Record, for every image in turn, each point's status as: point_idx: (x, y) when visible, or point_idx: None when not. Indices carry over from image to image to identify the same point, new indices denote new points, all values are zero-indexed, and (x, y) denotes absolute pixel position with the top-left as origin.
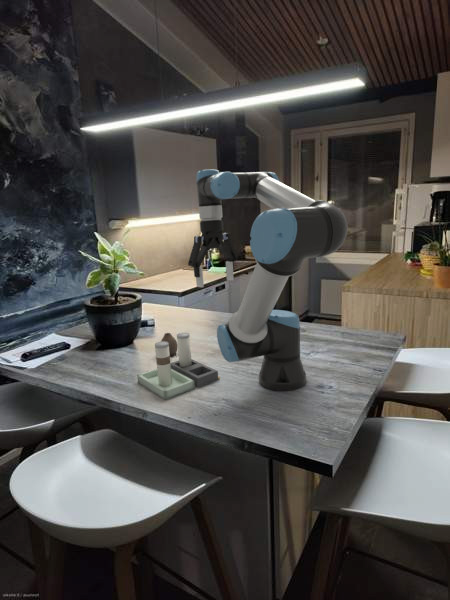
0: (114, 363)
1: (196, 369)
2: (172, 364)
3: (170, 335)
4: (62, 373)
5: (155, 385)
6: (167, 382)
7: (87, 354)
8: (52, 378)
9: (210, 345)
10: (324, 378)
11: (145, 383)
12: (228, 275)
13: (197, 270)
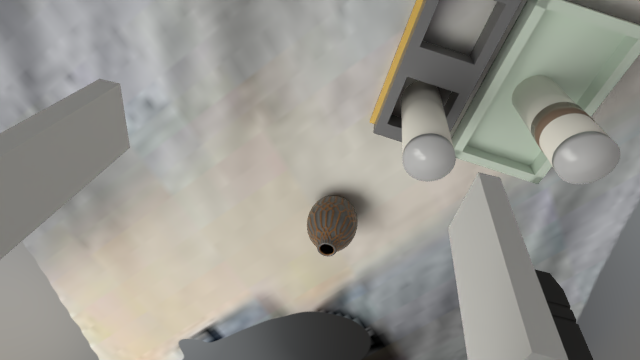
0: (440, 280)
1: (442, 52)
2: None
3: (326, 238)
4: None
5: (606, 91)
6: (553, 81)
7: (416, 345)
8: None
9: (221, 151)
10: None
11: None
12: (96, 148)
13: (572, 347)
